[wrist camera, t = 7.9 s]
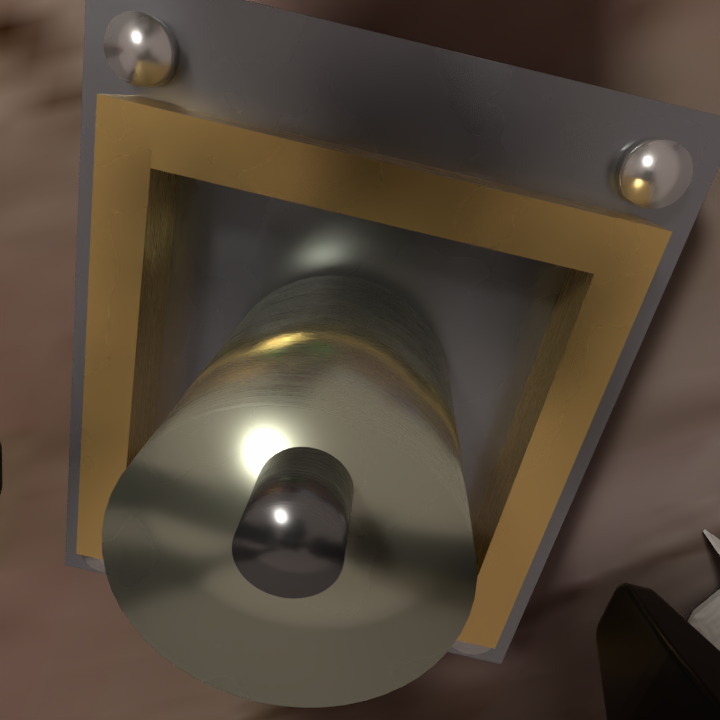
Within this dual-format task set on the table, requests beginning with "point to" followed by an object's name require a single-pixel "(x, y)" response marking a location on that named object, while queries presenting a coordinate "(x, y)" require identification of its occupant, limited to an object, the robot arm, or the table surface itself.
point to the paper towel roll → (709, 609)
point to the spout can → (302, 506)
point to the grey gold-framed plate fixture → (371, 242)
